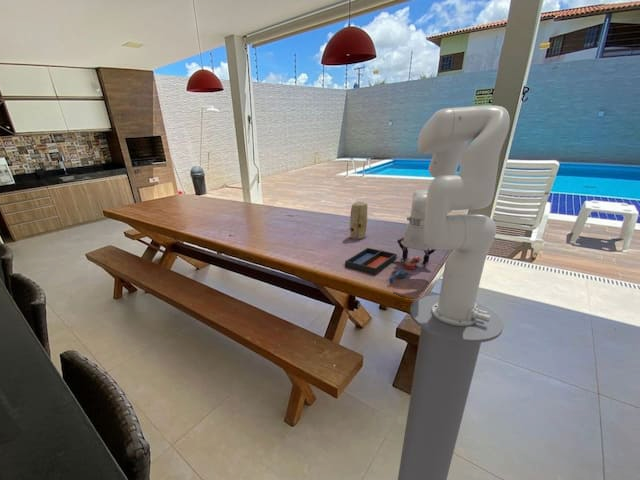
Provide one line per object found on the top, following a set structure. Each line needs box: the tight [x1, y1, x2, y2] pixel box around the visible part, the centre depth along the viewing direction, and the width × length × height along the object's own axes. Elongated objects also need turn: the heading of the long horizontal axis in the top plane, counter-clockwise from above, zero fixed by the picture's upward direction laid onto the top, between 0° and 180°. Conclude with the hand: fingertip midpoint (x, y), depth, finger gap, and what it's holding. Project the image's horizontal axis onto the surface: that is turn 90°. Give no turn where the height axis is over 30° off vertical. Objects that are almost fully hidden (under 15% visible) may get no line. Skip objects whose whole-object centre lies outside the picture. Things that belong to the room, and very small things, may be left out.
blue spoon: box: [389, 269, 407, 285], centre depth 119 cm, size 4×11×3 cm, turn 138°
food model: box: [349, 201, 368, 240], centre depth 161 cm, size 10×7×20 cm
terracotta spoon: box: [404, 254, 421, 270], centre depth 130 cm, size 4×11×3 cm, turn 138°
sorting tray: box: [344, 247, 397, 276], centre depth 134 cm, size 14×20×3 cm
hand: (414, 261), depth 131 cm, fingers open, 7 cm apart
